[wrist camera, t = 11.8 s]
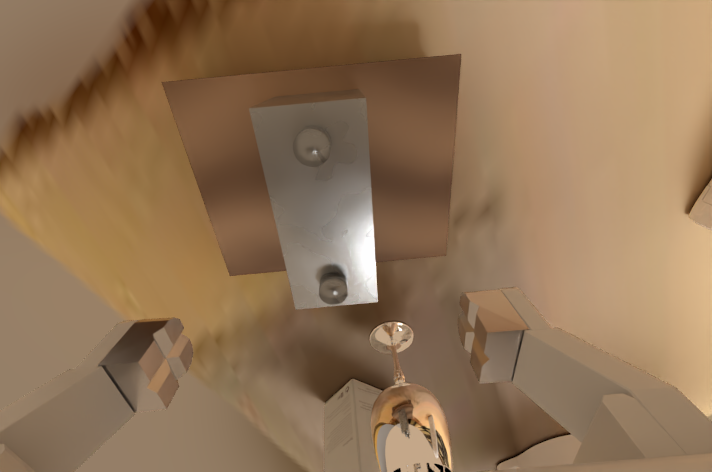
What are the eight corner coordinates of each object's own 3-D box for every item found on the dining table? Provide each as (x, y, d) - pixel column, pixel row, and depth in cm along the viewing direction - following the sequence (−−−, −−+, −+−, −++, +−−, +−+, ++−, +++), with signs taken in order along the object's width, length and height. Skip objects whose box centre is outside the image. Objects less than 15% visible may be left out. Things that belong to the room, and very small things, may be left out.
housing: (358, 88, 16) (367, 99, 11) (369, 252, 21) (379, 312, 16) (274, 96, 16) (243, 111, 11) (305, 258, 21) (293, 320, 16)
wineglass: (428, 321, 30) (477, 461, 19) (408, 360, 32) (441, 502, 22) (372, 311, 29) (390, 453, 18) (356, 352, 31) (364, 497, 21)
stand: (431, 228, 25) (446, 255, 21) (245, 246, 25) (230, 275, 21) (438, 56, 19) (461, 53, 15) (194, 79, 19) (161, 82, 15)
